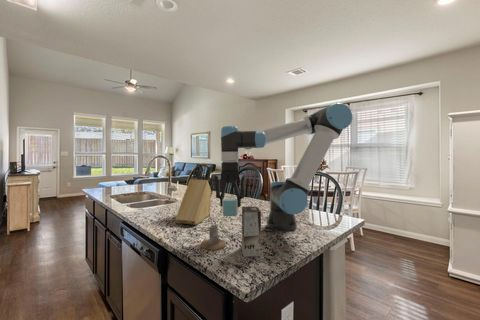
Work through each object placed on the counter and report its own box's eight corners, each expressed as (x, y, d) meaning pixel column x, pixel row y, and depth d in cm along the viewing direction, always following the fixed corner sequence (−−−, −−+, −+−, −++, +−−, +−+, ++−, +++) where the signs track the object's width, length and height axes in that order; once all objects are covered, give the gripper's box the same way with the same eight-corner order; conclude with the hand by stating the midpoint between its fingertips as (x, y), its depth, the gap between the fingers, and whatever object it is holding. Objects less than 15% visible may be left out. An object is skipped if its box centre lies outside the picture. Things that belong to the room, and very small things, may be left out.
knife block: (215, 210, 150) (215, 163, 149) (195, 227, 115) (196, 165, 115) (198, 210, 152) (199, 163, 151) (174, 225, 117) (175, 165, 117)
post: (228, 241, 96) (228, 223, 96) (222, 251, 86) (222, 231, 86) (205, 239, 98) (205, 222, 97) (197, 249, 88) (197, 229, 88)
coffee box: (261, 256, 82) (261, 211, 82) (243, 257, 81) (243, 211, 81) (257, 246, 91) (257, 206, 91) (240, 246, 90) (241, 206, 90)
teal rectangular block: (237, 213, 104) (237, 198, 104) (235, 216, 99) (235, 201, 99) (226, 213, 105) (226, 198, 105) (223, 216, 100) (223, 200, 100)
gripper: (251, 161, 104) (252, 212, 104) (212, 161, 107) (213, 211, 107) (249, 161, 96) (250, 216, 97) (207, 162, 99) (208, 215, 100)
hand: (230, 213), depth 102 cm, fingers closed on teal rectangular block, 5 cm apart
